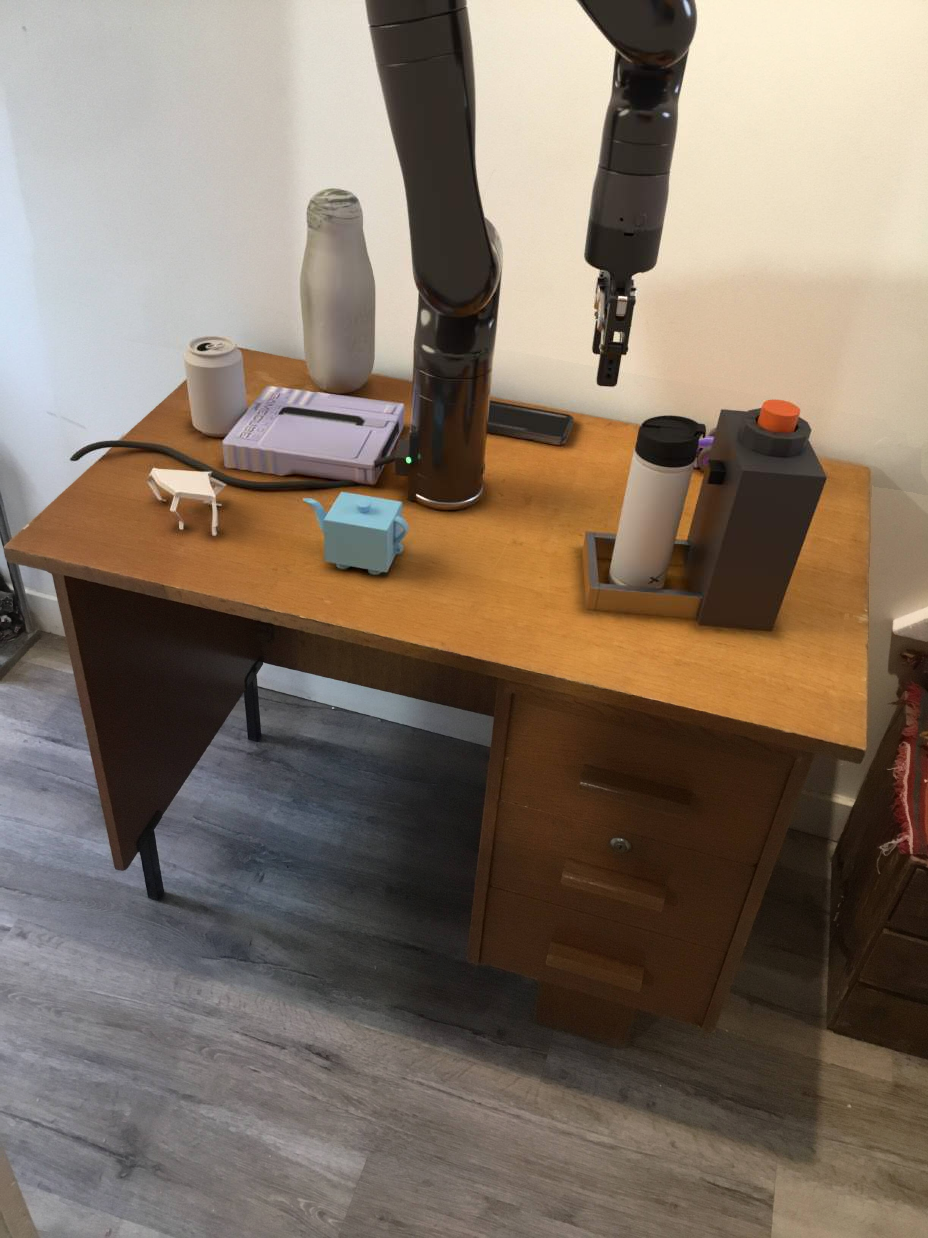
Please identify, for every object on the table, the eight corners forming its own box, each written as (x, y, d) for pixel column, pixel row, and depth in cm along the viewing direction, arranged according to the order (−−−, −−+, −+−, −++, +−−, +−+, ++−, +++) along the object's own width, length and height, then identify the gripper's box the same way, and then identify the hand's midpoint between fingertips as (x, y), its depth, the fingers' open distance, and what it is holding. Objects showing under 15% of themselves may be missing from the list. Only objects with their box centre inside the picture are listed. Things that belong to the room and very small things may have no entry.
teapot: (296, 563, 102) (292, 505, 97) (314, 534, 107) (311, 478, 102) (399, 581, 100) (401, 524, 96) (413, 551, 105) (415, 495, 100)
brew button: (761, 433, 88) (766, 413, 87) (754, 416, 91) (759, 397, 90) (798, 436, 88) (804, 417, 87) (789, 419, 91) (795, 400, 90)
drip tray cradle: (586, 609, 99) (610, 483, 89) (581, 552, 107) (603, 430, 97) (696, 619, 99) (732, 493, 89) (683, 561, 107) (715, 440, 97)
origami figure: (250, 507, 110) (247, 471, 107) (215, 542, 104) (210, 506, 101) (163, 486, 113) (157, 450, 110) (123, 520, 106) (116, 483, 103)
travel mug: (665, 605, 100) (707, 442, 88) (605, 595, 101) (638, 432, 88) (666, 573, 105) (706, 414, 92) (609, 564, 106) (642, 404, 93)
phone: (475, 397, 135) (575, 415, 132) (475, 404, 136) (573, 422, 133) (461, 420, 129) (565, 439, 126) (460, 427, 130) (564, 446, 127)
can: (204, 411, 129) (194, 328, 121) (256, 418, 128) (248, 335, 121) (184, 436, 123) (172, 350, 115) (238, 442, 122) (229, 357, 115)
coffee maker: (697, 625, 98) (748, 450, 85) (682, 556, 108) (725, 390, 95) (772, 631, 98) (834, 458, 85) (749, 562, 108) (802, 397, 95)
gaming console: (266, 384, 129) (405, 401, 127) (268, 408, 131) (404, 426, 129) (219, 443, 115) (374, 463, 113) (222, 469, 117) (374, 489, 115)
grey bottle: (336, 369, 142) (331, 175, 125) (387, 388, 138) (389, 191, 121) (292, 389, 136) (280, 188, 118) (344, 410, 132) (339, 204, 114)
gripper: (585, 194, 97) (567, 341, 107) (593, 234, 86) (572, 394, 96) (656, 199, 97) (631, 346, 107) (672, 239, 86) (643, 399, 96)
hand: (603, 368), depth 102 cm, fingers open, 8 cm apart
